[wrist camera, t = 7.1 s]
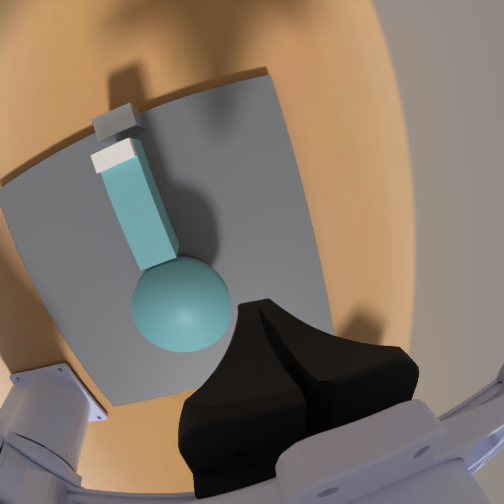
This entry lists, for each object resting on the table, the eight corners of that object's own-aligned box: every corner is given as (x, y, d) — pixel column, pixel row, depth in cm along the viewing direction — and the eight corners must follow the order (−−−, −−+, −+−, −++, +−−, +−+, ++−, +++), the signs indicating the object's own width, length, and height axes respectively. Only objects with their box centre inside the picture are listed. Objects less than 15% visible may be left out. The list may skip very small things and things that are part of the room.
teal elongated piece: (239, 315, 20) (246, 340, 17) (161, 341, 20) (157, 368, 17) (170, 128, 16) (164, 122, 13) (81, 167, 15) (61, 171, 12)
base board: (115, 400, 24) (113, 406, 23) (1, 189, 16) (-4, 191, 16) (331, 335, 26) (335, 340, 25) (267, 77, 18) (269, 74, 17)
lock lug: (112, 143, 17) (98, 141, 14) (107, 124, 16) (91, 119, 13) (145, 129, 17) (136, 124, 14) (140, 110, 16) (129, 102, 14)
